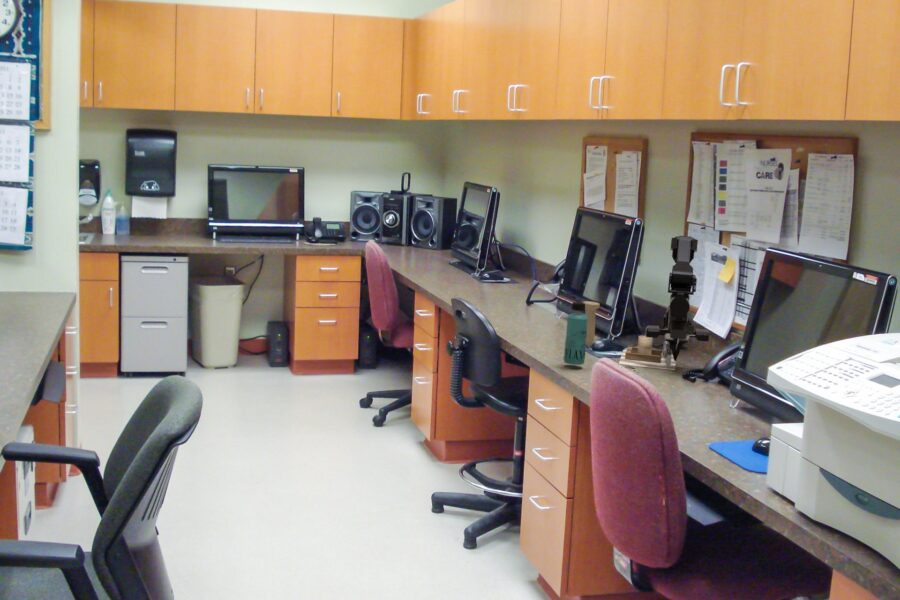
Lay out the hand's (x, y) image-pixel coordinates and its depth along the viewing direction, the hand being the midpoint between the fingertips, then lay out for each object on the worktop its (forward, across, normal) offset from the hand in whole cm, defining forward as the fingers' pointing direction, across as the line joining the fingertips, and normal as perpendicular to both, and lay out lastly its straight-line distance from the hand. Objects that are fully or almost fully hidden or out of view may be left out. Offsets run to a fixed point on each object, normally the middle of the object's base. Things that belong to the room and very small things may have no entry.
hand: (674, 360), depth 300 cm
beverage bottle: (+3, -30, -8) cm, 32 cm away
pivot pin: (+2, -9, +11) cm, 15 cm away
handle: (+3, -27, +24) cm, 36 cm away
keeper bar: (+2, -2, +7) cm, 7 cm away
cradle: (+3, -8, +8) cm, 12 cm away
